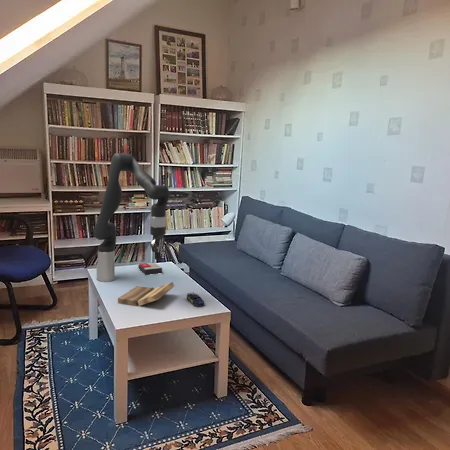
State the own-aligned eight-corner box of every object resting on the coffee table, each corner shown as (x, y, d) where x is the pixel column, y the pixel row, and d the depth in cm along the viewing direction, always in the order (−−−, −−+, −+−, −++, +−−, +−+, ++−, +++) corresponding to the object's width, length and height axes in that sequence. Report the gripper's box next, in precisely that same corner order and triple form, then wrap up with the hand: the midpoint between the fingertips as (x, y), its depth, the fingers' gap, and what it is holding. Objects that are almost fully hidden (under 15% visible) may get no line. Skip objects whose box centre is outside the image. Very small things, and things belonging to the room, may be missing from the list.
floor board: (117, 303, 196) (117, 297, 196) (137, 290, 215) (137, 285, 215) (136, 306, 194) (136, 300, 193) (154, 292, 213) (154, 287, 212)
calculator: (154, 262, 260) (162, 267, 247) (154, 268, 260) (162, 273, 247) (138, 263, 255) (145, 268, 241) (138, 270, 255) (145, 275, 242)
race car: (209, 307, 197) (209, 298, 196) (198, 310, 193) (198, 301, 193) (193, 297, 209) (193, 289, 208) (182, 300, 205) (182, 292, 204)
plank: (139, 305, 193) (137, 300, 193) (156, 292, 212) (154, 288, 212) (158, 299, 190) (156, 294, 190) (174, 286, 209) (172, 282, 209)
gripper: (157, 222, 206) (156, 255, 209) (144, 226, 193) (144, 261, 196) (170, 223, 204) (169, 256, 207) (159, 228, 191) (158, 263, 194)
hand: (157, 258), depth 201 cm, fingers closed
